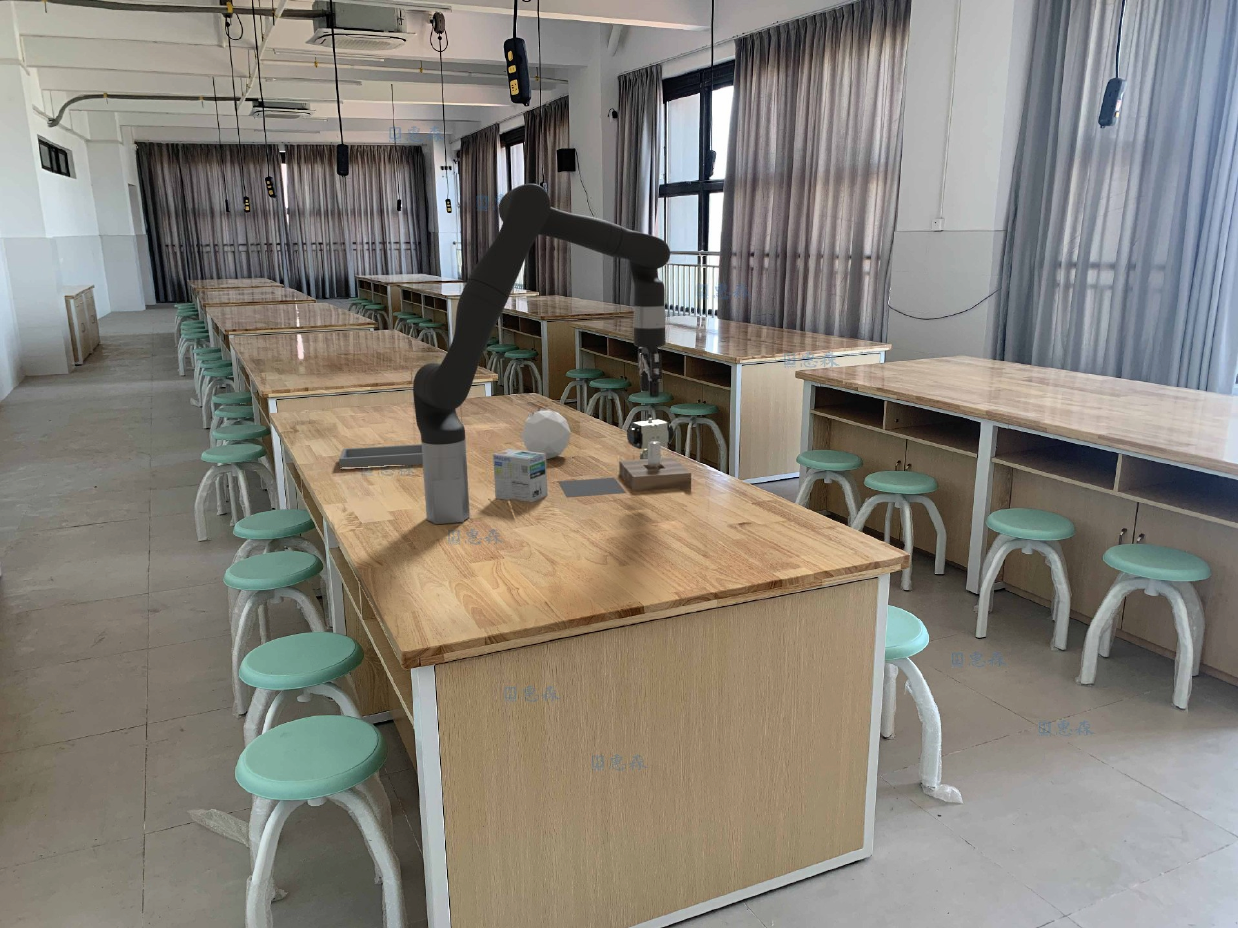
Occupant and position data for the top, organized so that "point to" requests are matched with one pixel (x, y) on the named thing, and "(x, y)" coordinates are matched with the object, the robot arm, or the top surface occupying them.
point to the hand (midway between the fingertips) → (649, 394)
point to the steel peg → (653, 455)
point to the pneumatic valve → (649, 434)
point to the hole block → (655, 475)
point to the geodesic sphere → (546, 433)
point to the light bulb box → (520, 475)
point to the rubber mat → (591, 487)
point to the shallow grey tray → (381, 456)
